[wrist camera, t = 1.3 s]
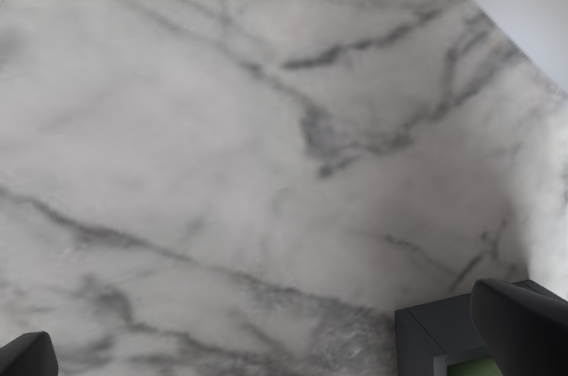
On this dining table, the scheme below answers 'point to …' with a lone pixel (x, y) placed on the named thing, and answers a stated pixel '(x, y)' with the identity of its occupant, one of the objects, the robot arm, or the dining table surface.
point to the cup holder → (443, 334)
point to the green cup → (475, 367)
